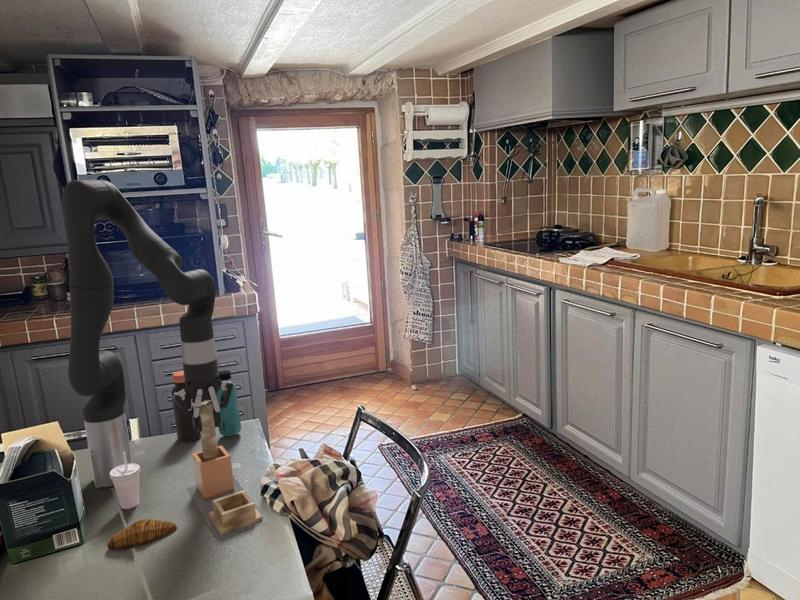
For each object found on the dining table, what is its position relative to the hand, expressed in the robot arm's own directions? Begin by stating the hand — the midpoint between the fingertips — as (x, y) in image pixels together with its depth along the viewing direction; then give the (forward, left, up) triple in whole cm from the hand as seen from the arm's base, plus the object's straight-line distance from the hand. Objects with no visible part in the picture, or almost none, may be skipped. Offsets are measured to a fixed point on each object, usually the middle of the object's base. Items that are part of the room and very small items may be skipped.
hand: (207, 428), depth 135 cm
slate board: (0, -8, -17) cm, 19 cm away
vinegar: (+3, +37, -17) cm, 41 cm away
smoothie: (-18, +6, -17) cm, 25 cm away
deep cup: (0, 0, -16) cm, 16 cm away
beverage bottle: (+13, +30, -17) cm, 37 cm away
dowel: (0, 0, -10) cm, 10 cm away
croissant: (-18, -10, -17) cm, 27 cm away
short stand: (0, -15, -16) cm, 22 cm away
